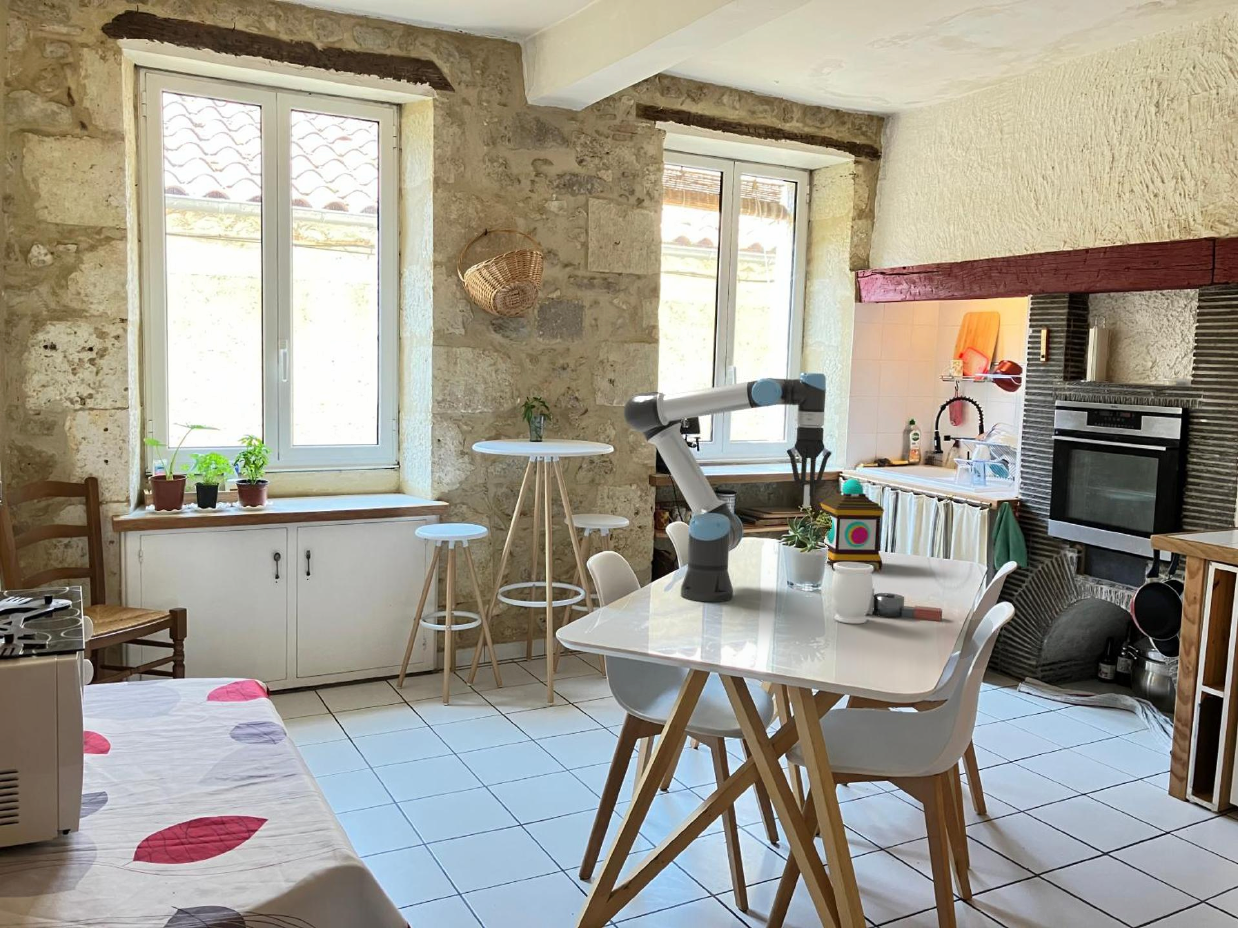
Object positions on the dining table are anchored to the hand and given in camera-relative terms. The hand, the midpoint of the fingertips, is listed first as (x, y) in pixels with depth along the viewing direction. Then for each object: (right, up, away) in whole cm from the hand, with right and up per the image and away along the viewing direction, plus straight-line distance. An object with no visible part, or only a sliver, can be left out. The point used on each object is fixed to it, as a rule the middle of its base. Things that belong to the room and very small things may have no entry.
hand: (806, 507), depth 288 cm
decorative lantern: (+24, -23, +51) cm, 61 cm away
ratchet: (+22, -29, -17) cm, 40 cm away
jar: (+7, -29, -24) cm, 39 cm away
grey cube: (+13, -28, -14) cm, 34 cm away
